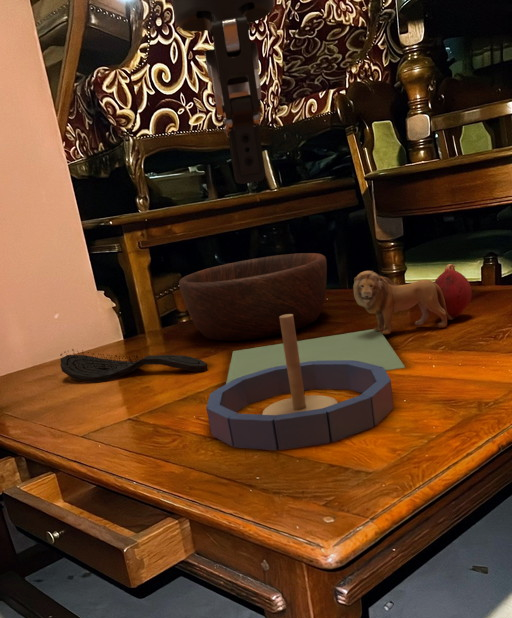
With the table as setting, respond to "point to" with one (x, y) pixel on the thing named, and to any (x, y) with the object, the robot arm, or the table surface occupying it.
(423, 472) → the table surface
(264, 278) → the wooden bowl
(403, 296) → the lion figurine
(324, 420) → the blue ring
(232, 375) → the green mat
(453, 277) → the onion
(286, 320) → the dowel stand
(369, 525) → the table surface
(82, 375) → the hairbrush
